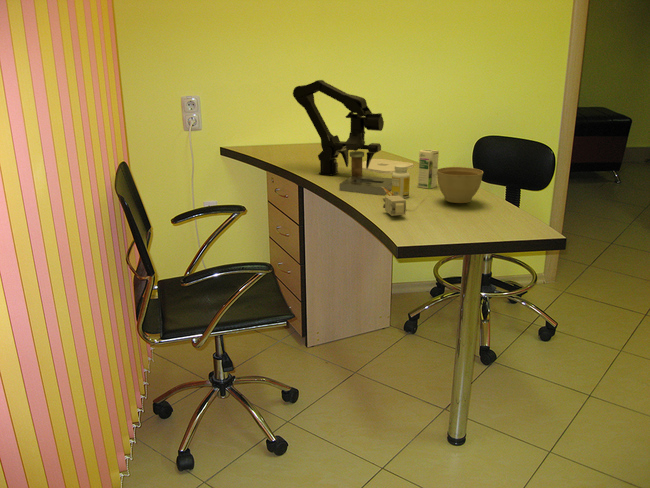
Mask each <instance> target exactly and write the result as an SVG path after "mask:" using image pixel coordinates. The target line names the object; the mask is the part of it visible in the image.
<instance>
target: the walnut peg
mask: <svg viewBox="0 0 650 488" xmlns="http://www.w3.org/2000/svg"><path fill="white" fill-rule="evenodd" d="M363 157H365V151H360V150H357V151H354V150H351V151H350V152H349V158H351V159H350V161H351V165H350V166H351V170H350V173H351V176H353V175H355V176H363V170H362V162H363ZM351 176H350V177H351Z"/></svg>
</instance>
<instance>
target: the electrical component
mask: <svg viewBox="0 0 650 488" xmlns="http://www.w3.org/2000/svg"><path fill="white" fill-rule="evenodd" d="M381 187H382V186H381ZM382 188H383V187H382ZM383 189H384V190H385V191H386V193H387V194H386V195H384V196H385V197H383V198H382V201H383V202H384V203H383V205H382V208H383V209H384V211H385V212H386V213H388V214H389V215H390V216H393V217H394V216H405V215H406V211H407V200H406V198H402V197H401V196H399V195H398V196H394V195H393V194H392V191H391V190H390V191H388V190H387V189H385V188H383ZM387 191H388V192H387ZM392 195H393V196H392Z"/></svg>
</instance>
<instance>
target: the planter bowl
mask: <svg viewBox="0 0 650 488" xmlns="http://www.w3.org/2000/svg"><path fill="white" fill-rule="evenodd" d="M483 175H484V171H483V170H481V169H478V168H473V167H465V166H449V167H448V166H445V167H440V168H438V170H437V185H438V187H439V189H440V191H441V193H442V195H443V197H444V200H445V202H449V203H454V204H455V203H456V204H465V203H466V204H467V203H470V202H472V198H473V197H475V195H476V194H477V192H478V191H479V190H480V186H481V184H482V180H483Z"/></svg>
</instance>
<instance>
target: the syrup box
mask: <svg viewBox="0 0 650 488" xmlns="http://www.w3.org/2000/svg"><path fill="white" fill-rule="evenodd" d="M439 152H440V151H439V150H434V149H420V150H419V153H418V154H419V155H418V156H419V157H418V176H417V179H418V180H417V188H422V189H423V188H424V189H429V190H430V189H433V188H436V187H437V185H438V178H437V170H438V169H439V168H438V167H439V165H438V164H439Z"/></svg>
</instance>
